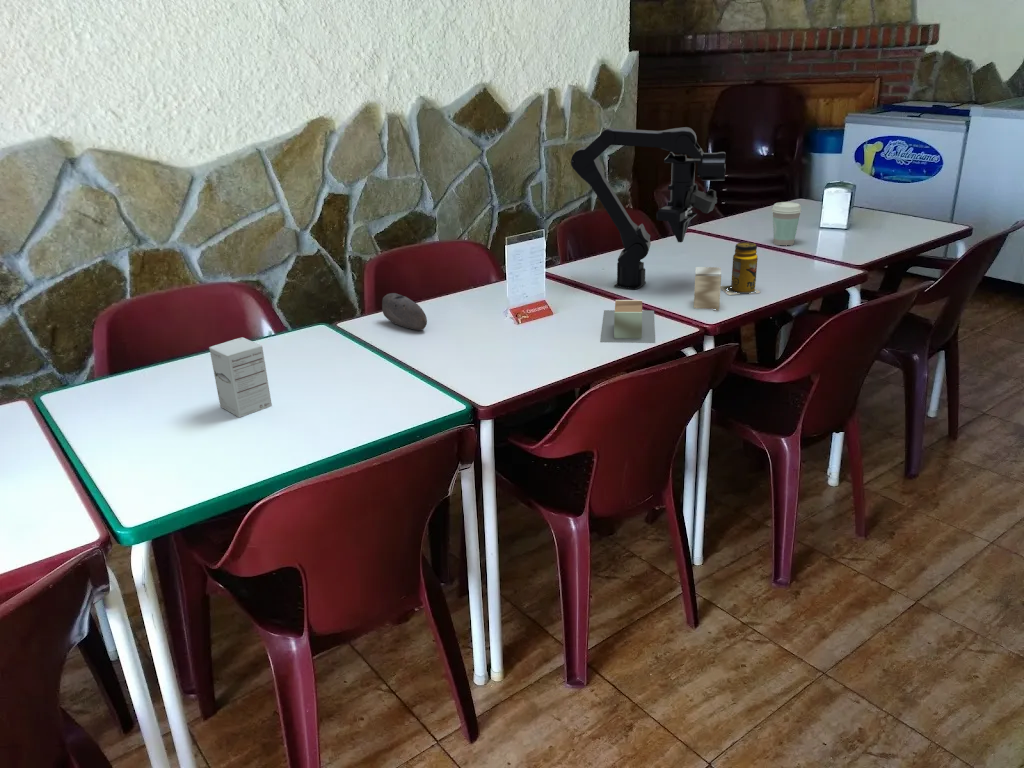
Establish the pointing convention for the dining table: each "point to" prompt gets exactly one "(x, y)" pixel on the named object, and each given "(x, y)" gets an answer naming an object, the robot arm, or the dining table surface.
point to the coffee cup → (785, 222)
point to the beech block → (707, 287)
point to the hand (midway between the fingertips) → (680, 242)
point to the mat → (647, 337)
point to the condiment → (743, 269)
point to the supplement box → (240, 376)
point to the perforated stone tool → (403, 311)
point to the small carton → (628, 319)
